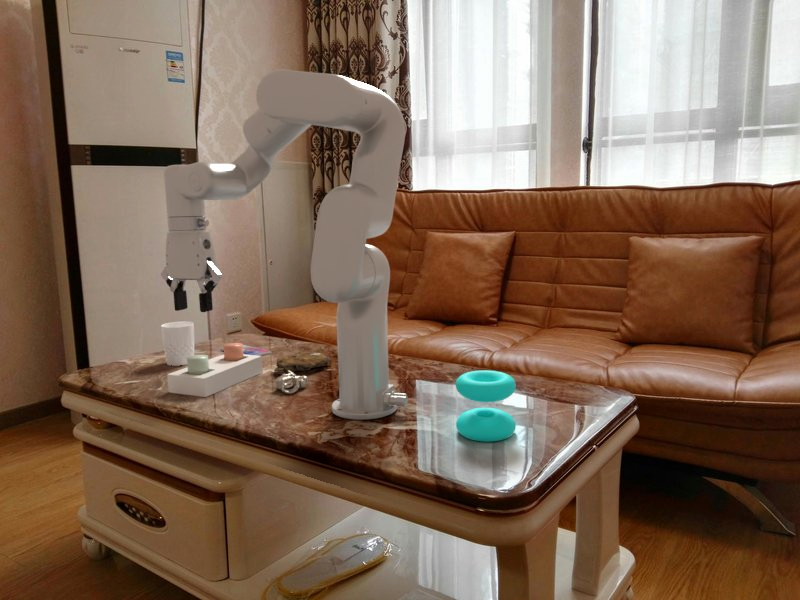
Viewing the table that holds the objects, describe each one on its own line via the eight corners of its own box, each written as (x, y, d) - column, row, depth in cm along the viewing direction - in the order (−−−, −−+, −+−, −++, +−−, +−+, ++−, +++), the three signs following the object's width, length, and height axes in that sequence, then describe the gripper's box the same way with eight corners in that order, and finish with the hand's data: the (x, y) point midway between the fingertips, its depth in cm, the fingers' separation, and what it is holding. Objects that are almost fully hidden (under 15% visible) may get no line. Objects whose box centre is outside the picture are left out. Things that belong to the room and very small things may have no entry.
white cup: (190, 366, 155) (187, 327, 154) (159, 367, 156) (155, 327, 154) (200, 358, 163) (198, 321, 162) (171, 359, 163) (167, 321, 162)
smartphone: (242, 343, 177) (273, 351, 167) (242, 347, 177) (273, 355, 167) (218, 348, 172) (249, 356, 162) (219, 351, 172) (249, 360, 162)
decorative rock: (302, 382, 142) (338, 368, 155) (302, 364, 141) (339, 351, 154) (262, 374, 147) (301, 361, 160) (263, 357, 146) (301, 345, 159)
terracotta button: (247, 360, 147) (246, 343, 146) (235, 364, 143) (234, 347, 143) (232, 358, 149) (231, 342, 148) (220, 363, 145) (219, 346, 144)
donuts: (448, 370, 109) (502, 366, 111) (449, 425, 110) (502, 420, 112) (466, 387, 99) (525, 381, 101) (466, 447, 101) (525, 440, 103)
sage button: (213, 373, 136) (212, 355, 136) (199, 378, 132) (198, 360, 132) (197, 371, 138) (196, 354, 137) (183, 376, 134) (182, 358, 133)
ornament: (311, 393, 132) (310, 376, 131) (278, 397, 130) (277, 380, 129) (305, 383, 139) (304, 367, 139) (274, 386, 137) (273, 370, 137)
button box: (262, 372, 148) (261, 355, 148) (205, 397, 130) (204, 378, 129) (228, 368, 152) (227, 352, 151) (168, 392, 134) (167, 374, 133)
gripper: (232, 224, 130) (238, 309, 133) (168, 225, 137) (175, 305, 140) (208, 226, 123) (214, 315, 126) (142, 226, 130) (149, 311, 133)
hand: (193, 309), depth 133 cm, fingers open, 6 cm apart
